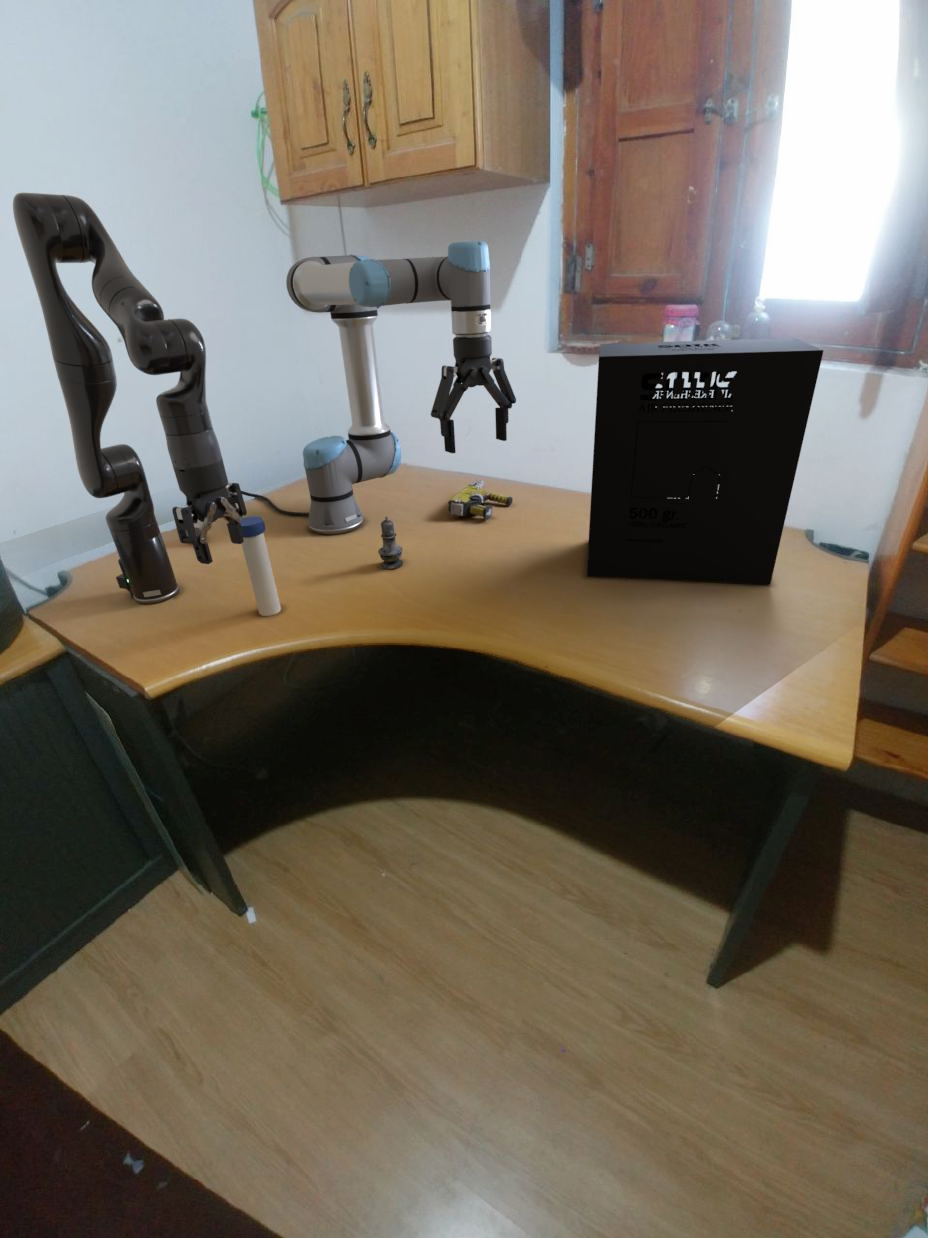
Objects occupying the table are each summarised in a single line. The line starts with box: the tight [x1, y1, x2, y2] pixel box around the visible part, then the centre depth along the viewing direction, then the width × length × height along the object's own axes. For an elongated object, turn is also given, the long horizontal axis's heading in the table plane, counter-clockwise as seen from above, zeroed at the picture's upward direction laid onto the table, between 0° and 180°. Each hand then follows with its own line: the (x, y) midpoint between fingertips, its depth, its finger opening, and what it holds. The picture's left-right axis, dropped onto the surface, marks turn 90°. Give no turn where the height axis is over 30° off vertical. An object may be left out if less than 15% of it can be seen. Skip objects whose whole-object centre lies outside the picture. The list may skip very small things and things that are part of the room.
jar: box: [240, 532, 282, 617], centre depth 122 cm, size 4×4×20 cm
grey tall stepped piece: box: [377, 516, 404, 570], centre depth 141 cm, size 6×6×12 cm
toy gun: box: [447, 479, 514, 521], centre depth 175 cm, size 5×24×15 cm
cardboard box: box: [586, 337, 824, 586], centre depth 127 cm, size 38×20×45 cm, turn 78°
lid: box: [240, 515, 266, 537], centre depth 118 cm, size 6×6×2 cm
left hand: (222, 552), depth 104 cm, fingers open, 8 cm apart
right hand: (476, 445), depth 127 cm, fingers open, 13 cm apart
